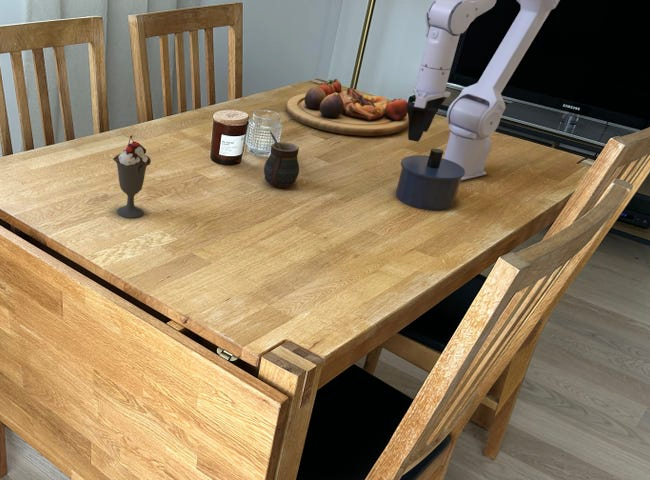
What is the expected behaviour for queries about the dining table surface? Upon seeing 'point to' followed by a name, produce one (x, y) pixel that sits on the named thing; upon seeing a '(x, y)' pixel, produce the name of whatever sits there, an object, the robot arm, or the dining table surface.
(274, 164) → the mate gourd
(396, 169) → the dining table surface
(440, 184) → the dark blue round container
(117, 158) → the sundae
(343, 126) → the wooden plate
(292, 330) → the dining table surface
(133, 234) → the dining table surface
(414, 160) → the lid
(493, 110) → the robot arm
